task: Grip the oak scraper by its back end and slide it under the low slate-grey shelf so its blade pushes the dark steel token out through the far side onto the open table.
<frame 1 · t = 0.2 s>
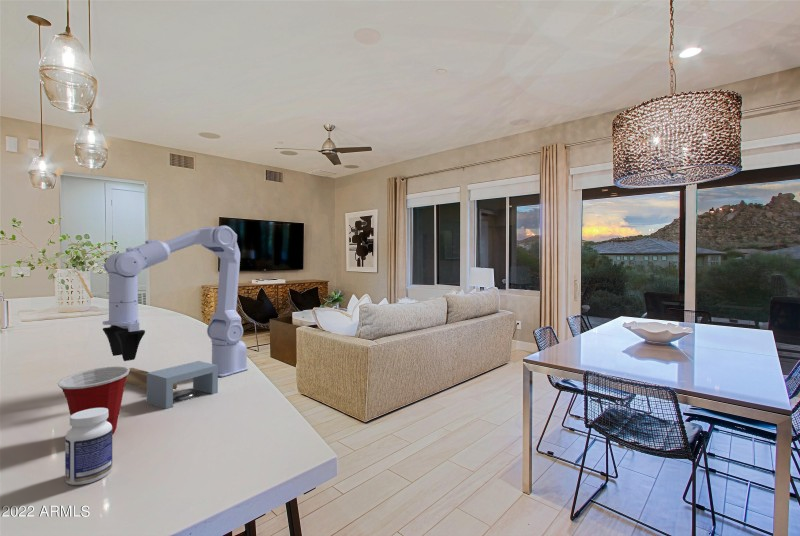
hand: (123, 357, 93), 10 cm above the kitchen island, tool pointing down, fingers open, 7 cm apart
plastic cup: (95, 437, 73), on the kitchen island
steel token: (183, 398, 94), on the kitchen island
pill bottle: (89, 477, 60), on the kitchen island
oak scraper: (145, 386, 102), on the kitchen island
low shelf: (183, 397, 94), on the kitchen island
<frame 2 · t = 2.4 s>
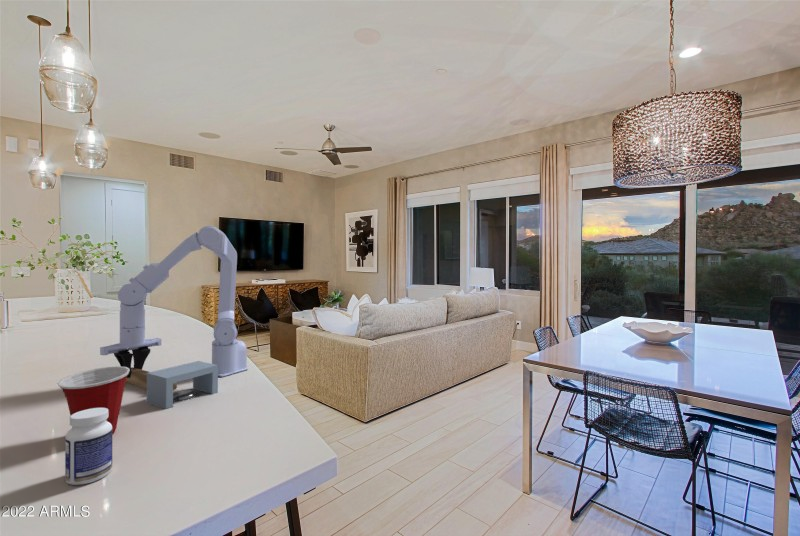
hand: (132, 375, 105), 2 cm above the kitchen island, tool pointing down, fingers closed on oak scraper, 2 cm apart
oak scraper: (145, 385, 102), on the kitchen island, touching gripper
everything else where it was.
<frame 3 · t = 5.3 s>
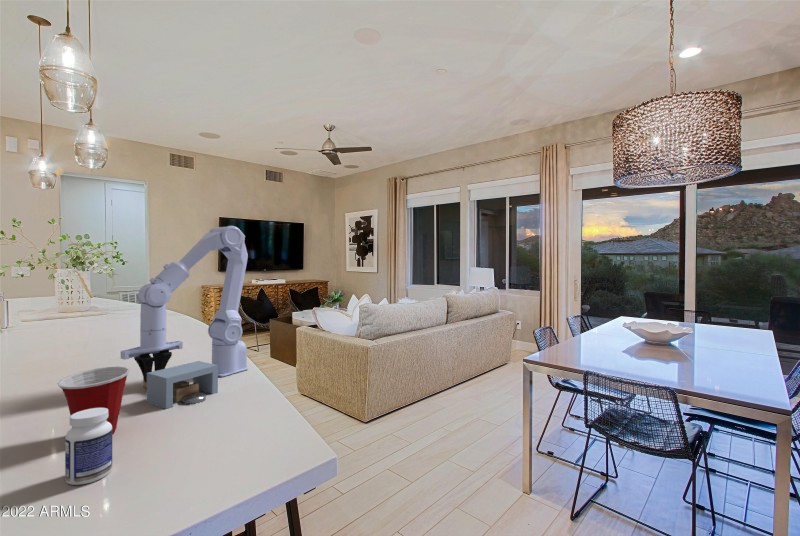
hand: (153, 380, 101), 2 cm above the kitchen island, tool pointing down, fingers closed on oak scraper, 2 cm apart
steel token: (194, 401, 92), on the kitchen island
oak scraper: (165, 391, 98), on the kitchen island, touching gripper
everything else where it was.
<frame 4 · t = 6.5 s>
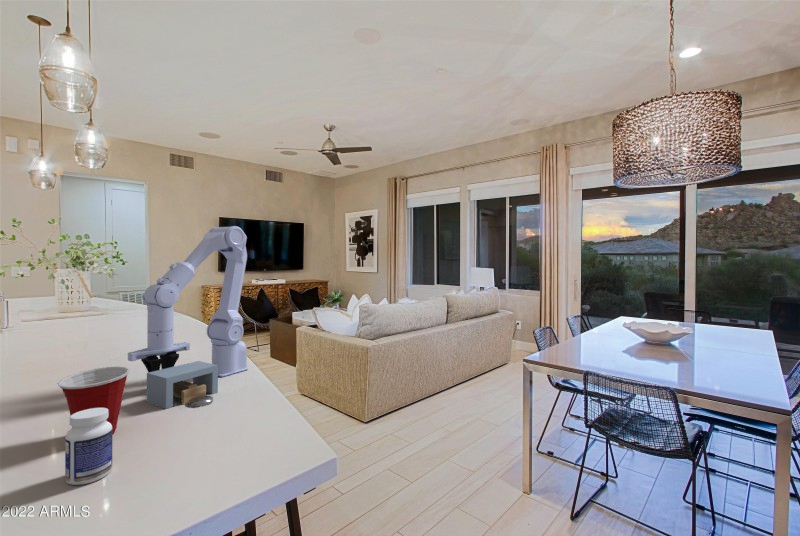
hand: (160, 382, 99), 2 cm above the kitchen island, tool pointing down, fingers closed on oak scraper, 2 cm apart
steel token: (201, 404, 91), on the kitchen island
oak scraper: (172, 393, 96), on the kitchen island, touching gripper
everything else where it was.
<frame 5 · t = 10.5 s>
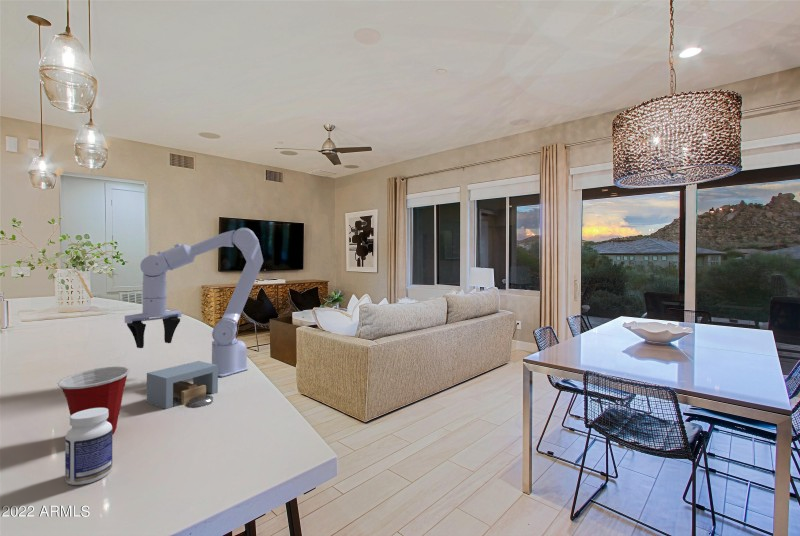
hand: (154, 345, 109), 9 cm above the kitchen island, tool pointing down, fingers open, 7 cm apart
oak scraper: (171, 394, 96), on the kitchen island
everything else where it was.
at the end: steel token inside the target area (6.1 cm from its centre), on the kitchen island; steel token tilted 1° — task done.
